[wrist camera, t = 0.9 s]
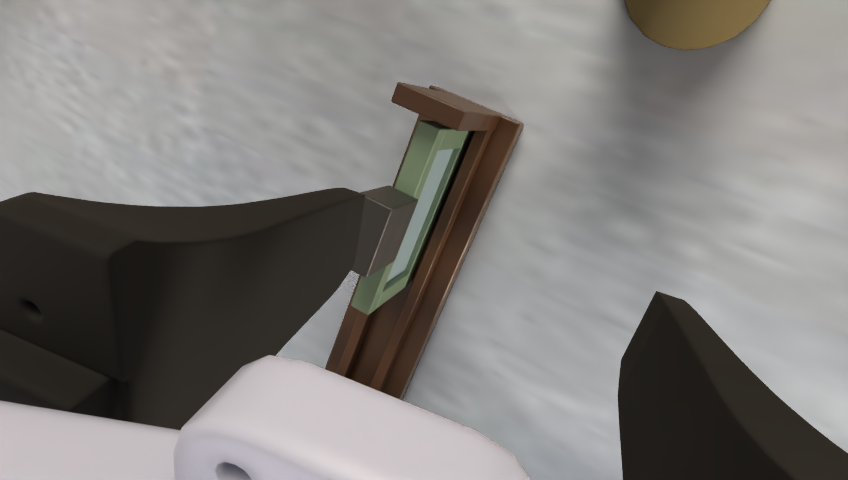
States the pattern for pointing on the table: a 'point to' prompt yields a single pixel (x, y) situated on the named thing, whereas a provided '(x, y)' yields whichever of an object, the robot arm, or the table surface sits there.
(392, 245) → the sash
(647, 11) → the cork
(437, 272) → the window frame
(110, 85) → the table surface
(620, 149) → the table surface
